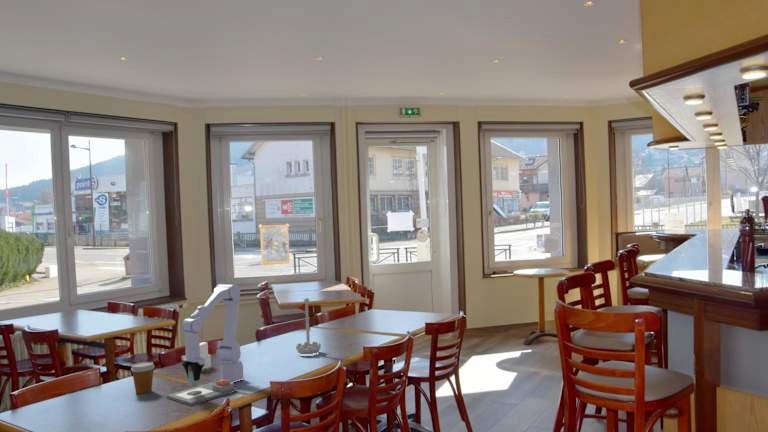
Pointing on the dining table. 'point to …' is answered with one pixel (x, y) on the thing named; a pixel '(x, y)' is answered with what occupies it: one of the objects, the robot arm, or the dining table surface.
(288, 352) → the dining table surface
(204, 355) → the base with upright slab
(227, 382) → the button
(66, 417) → the dining table surface
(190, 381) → the salt shaker
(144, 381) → the disposable coffee cup
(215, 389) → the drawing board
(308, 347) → the flag stand
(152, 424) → the dining table surface
